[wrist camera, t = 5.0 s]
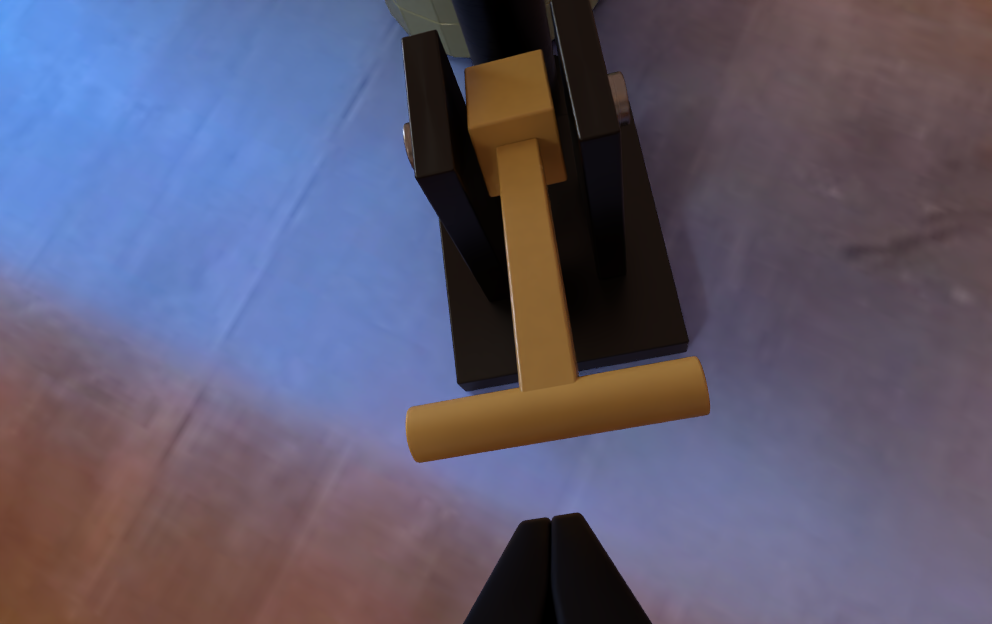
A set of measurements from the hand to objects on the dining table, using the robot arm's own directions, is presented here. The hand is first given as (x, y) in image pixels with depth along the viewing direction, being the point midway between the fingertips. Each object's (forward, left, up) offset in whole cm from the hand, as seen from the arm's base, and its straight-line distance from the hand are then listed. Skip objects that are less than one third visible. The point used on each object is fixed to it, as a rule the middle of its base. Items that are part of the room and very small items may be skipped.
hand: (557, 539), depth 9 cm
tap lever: (+4, -5, -5) cm, 9 cm away
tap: (+7, -8, -13) cm, 17 cm away
